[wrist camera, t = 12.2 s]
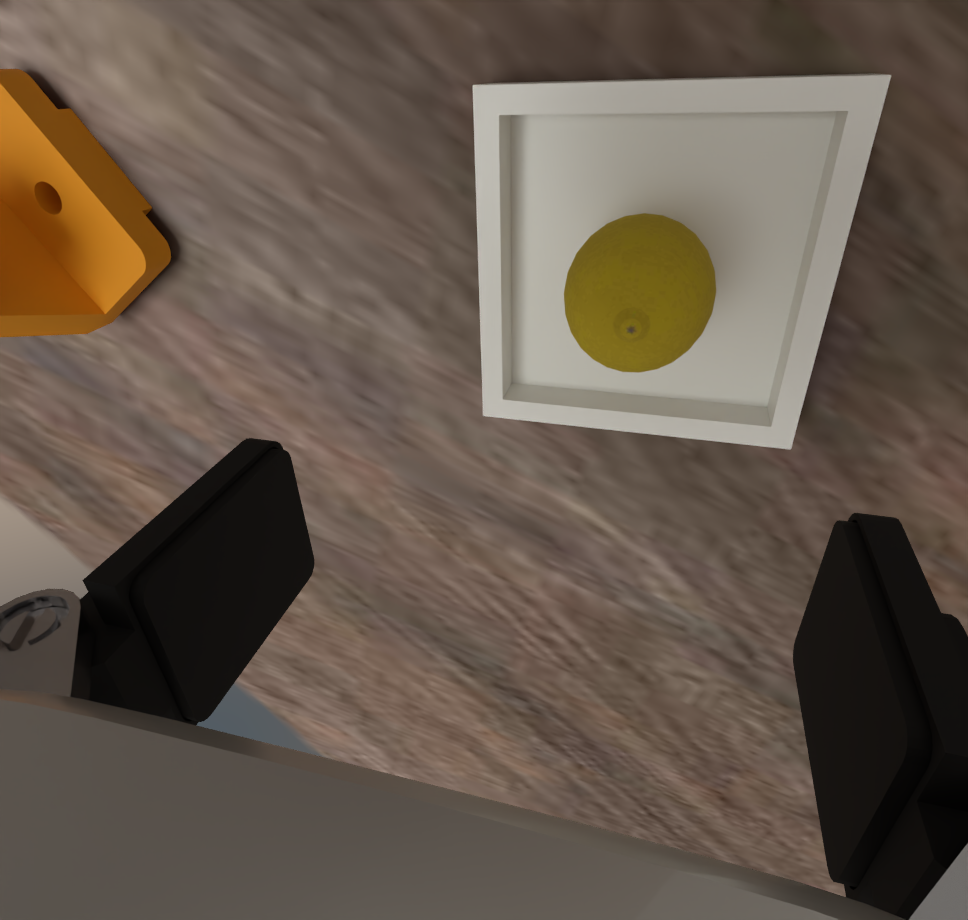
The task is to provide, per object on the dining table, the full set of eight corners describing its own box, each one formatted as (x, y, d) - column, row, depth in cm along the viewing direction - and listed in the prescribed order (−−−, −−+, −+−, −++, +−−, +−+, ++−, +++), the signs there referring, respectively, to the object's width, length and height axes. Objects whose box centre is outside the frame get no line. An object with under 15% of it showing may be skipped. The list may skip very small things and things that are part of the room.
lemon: (568, 313, 29) (535, 386, 23) (594, 185, 26) (564, 226, 19) (689, 339, 28) (691, 422, 22) (731, 210, 25) (747, 260, 19)
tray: (490, 83, 26) (472, 85, 24) (873, 73, 22) (891, 74, 20) (496, 394, 33) (483, 416, 31) (784, 422, 30) (790, 449, 28)
